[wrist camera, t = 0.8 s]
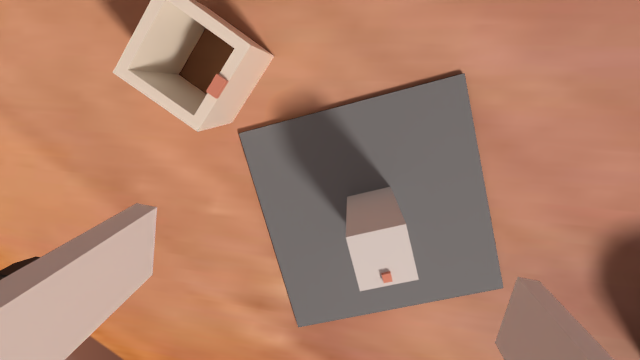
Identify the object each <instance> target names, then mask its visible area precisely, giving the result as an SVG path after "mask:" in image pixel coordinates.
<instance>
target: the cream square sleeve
mask: <svg viewBox="0 0 640 360" xmlns="http://www.w3.org/2000/svg"><path fill="white" fill-rule="evenodd" d="M205 28H207V29H208V30H210V31H211V32H212V33H214V34H215V35H217V36H218V37H219V38H221V39H222V40H223V41H225V42H226V43H228V44H229V45H230V46H232V47H233V48H234V50H233V52H232V53H231V55H230V57H229V58H228V60H227V62H226V63H225V65H224V67H223V68H222V70H221V72H220V73H219V74H216V75H215V77H214V79H213V80H212V82H211V84H210V85H209V87H208V89H207V90H206V92H207V94H206V93H204V92H203V91H201V90H200V89H199V88H197V87H196V86H194V85H193V84H191V83H190V82H189V81H187V80H186V79H184V78H183V77H182V76H180V75H179V73H180V72H181V70H182V68H183V66H184V65H185V63H186V61H187V59H188V58H189V56H190V54H191V52H192V51H193V49H194V47H195V45H196V44H197V42H198V40H199V39H200V37H201V35H202V33H203V32H204V30H205ZM273 57H274V55H272V54H271V53H269V52H268V51H267V50H265V49H264V48H263V47H261V46H260V45H258V44H257V43H256V42H254V41H253V40H251V39H250V38H249V37H247V36H246V35H245V34H243V33H242V32H240V31H239V30H238V29H236V28H235V27H234V26H232V25H231V24H229V23H228V22H227V21H225V20H224V19H222V18H221V17H220V16H218V15H217V14H216V13H214V12H213V11H211V10H210V9H209V8H207V7H206V6H204V5H202V4H201V3H199V2H197V1H196V0H151V1H150V3H149V5H148V7H147V9H146V10H145V12H144V14H143V16H142V18H141V20H140V22H139V24H138V26H137V27H136V29H135V31H134V33H133V35H132V37H131V39H130V41H129V43H128V44H127V46H126V48H125V50H124V52H123V54H122V56H121V58H120V60H119V62H118V63H117V65H116V67H115V69H114V71H113V73H114V74H116V75H117V76H118V77H120V78H121V79H123V80H124V81H126V82H127V83H128V84H130V85H131V86H133V87H134V88H136V89H137V90H138V91H140V92H141V93H143V94H144V95H146V96H147V97H149V98H150V99H151V100H153V101H154V102H156V103H157V104H159V105H160V106H161V107H163V108H164V109H166V110H167V111H169V112H170V113H172V114H173V115H174V116H176V117H177V118H179V119H180V120H182V121H183V122H184V123H186V124H187V125H189V126H190V127H192V128H193V129H194V130H196V131H197V132H199V131H203V130H206V129H210V128H214V127H218V126H222V125H225V124H229V123H232V122H233V121H234V119H235V117H236V116H237V114H238V113H239V111H240V109H241V108H242V106H243V105H244V103H245V102H246V100H247V98H248V97H249V95H250V94H251V92H252V91H253V89H254V87H255V86H256V84H257V83H258V81H259V80H260V78H261V76H262V75H263V73H264V72H265V70H266V69H267V67H268V65H269V64H270V62H271V61H272V59H273Z"/></svg>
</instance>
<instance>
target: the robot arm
mask: <svg viewBox="0 0 640 360" xmlns="http://www.w3.org/2000/svg"><path fill="white" fill-rule="evenodd" d="M156 214H157V207H153V206H148V205H143V204H138V203H136V204H134V205H133V206H131V207H129V208H127V209H125V210H124V211H122V212H120V213H118V214H117V215H115V216H113V217H111V218H110V219H108V220H106V221H104V222H102V223H101V224H99V225H97V226H95V227H94V228H92V229H90V230H88V231H86V232H85V233H83V234H81V235H79V236H78V237H76V238H74V239H72V240H71V241H69V242H67V243H65V244H63V245H62V246H60V247H58V248H56V249H55V250H53V251H51V252H49V253H47V254H46V255H44V256H42V257H33V258H30V259H27V260H23V261H20V262H17V263H14V264H12V265H10V266H8V267H6V268H4V269H3V270H1V271H0V360H65V359H66V358H67V357H68V356H69V355H70V354H71V353H72V352H73V351H74V350H75V349H76V348H77V347H78V346H79V345H80V344H81V343H82V342H83V341H85V340H86V339H87V338H88V337H89V336H90V335H91V334H92V333H93V332H94V331H95V330H96V329H97V328H98V327H99V326H100V325H101V324H102V323H103V322H104V321H105V320H106V319H107V318H108V317H109V316H110V315H111V314H112V313H113V312H114V311H115V310H116V309H118V308H119V307H120V306H121V305H122V304H123V303H124V302H125V301H126V300H127V299H128V298H129V297H130V296H131V295H132V294H133V293H134V292H135V291H136V290H137V289H138V288H139V287H140V286H141V285H142V284H143V283H144V282H145V281H146V280H147V279H148V278H149V277H151V276H152V274H153V259H154V244H155V229H156ZM495 344H496V345H497V347H498V349H499V351H500V353H501V354H502V356H503V358H504V360H614V359H613V358H612V357H611V356H610V355H609V354H608V353H607V352H606V351H605V349H604V348H603V347H602V346H601V345H600V344H599V343H598V342H597V341H596V340H595V339H594V338H593V337H592V336H591V335H590V334H589V333H588V332H587V331H586V330H585V328H584V327H583V326H582V325H581V324H580V323H579V322H578V321H577V320H576V319H575V318H574V317H573V316H572V315H571V314H570V313H569V312H568V311H567V310H566V309H565V308H564V306H563V305H562V304H561V303H560V302H559V301H558V300H557V299H556V298H555V297H554V296H553V295H552V294H551V293H550V292H549V291H548V290H547V289H546V288H545V287H544V285H543V284H542V283H541V282H540V281H537V280H531V279H526V278H521V277H517V280H516V283H515V286H514V289H513V292H512V294H511V297H510V300H509V303H508V306H507V309H506V312H505V315H504V318H503V321H502V324H501V327H500V330H499V333H498V335H497V338H496V341H495Z"/></svg>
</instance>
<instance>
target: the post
mask: <svg viewBox="0 0 640 360" xmlns="http://www.w3.org/2000/svg"><path fill="white" fill-rule="evenodd" d="M239 136H240V139H241V142H242V145H243V149H244V152H245V155H246V158H247V162H248V165H249V168H250V171H251V175H252V178H253V181H254V185H255V188H256V191H257V194H258V198H259V201H260V204H261V207H262V211H263V214H264V217H265V220H266V224H267V227H268V230H269V233H270V237H271V240H272V243H273V246H274V250H275V253H276V256H277V259H278V263H279V266H280V269H281V272H282V276H283V279H284V282H285V285H286V289H287V292H288V295H289V298H290V302H291V305H292V308H293V311H294V315H295V318H296V321H297V324H298V327H302V326H308V325H313V324H318V323H323V322H329V321H334V320H339V319H344V318H349V317H355V316H360V315H365V314H370V313H376V312H381V311H386V310H391V309H397V308H402V307H407V306H412V305H417V304H423V303H428V302H433V301H438V300H444V299H449V298H454V297H459V296H464V295H470V294H475V293H480V292H485V291H491V290H496V289H501V288H503V283H502V278H501V272H500V267H499V261H498V256H497V250H496V244H495V239H494V233H493V228H492V222H491V217H490V211H489V206H488V200H487V195H486V189H485V184H484V178H483V173H482V167H481V162H480V156H479V151H478V145H477V140H476V134H475V129H474V123H473V118H472V112H471V107H470V101H469V95H468V90H467V84H466V79H465V73H464V74H460V75H456V76H452V77H448V78H445V79H441V80H437V81H433V82H430V83H426V84H422V85H418V86H415V87H411V88H407V89H403V90H400V91H396V92H392V93H388V94H385V95H381V96H377V97H373V98H370V99H366V100H362V101H358V102H355V103H351V104H347V105H343V106H340V107H336V108H332V109H328V110H325V111H321V112H317V113H313V114H310V115H306V116H302V117H298V118H295V119H291V120H287V121H283V122H280V123H276V124H272V125H268V126H265V127H261V128H257V129H253V130H250V131H246V132H242V133H239Z"/></svg>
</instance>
